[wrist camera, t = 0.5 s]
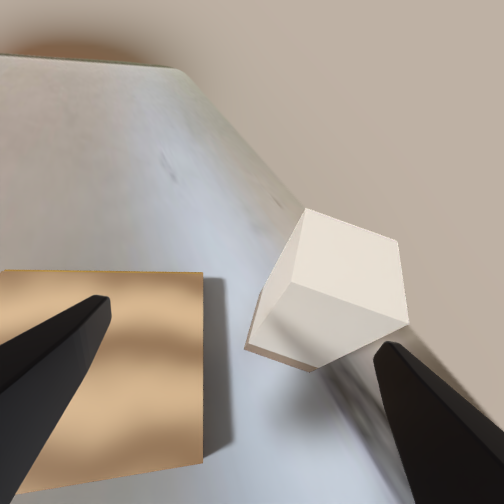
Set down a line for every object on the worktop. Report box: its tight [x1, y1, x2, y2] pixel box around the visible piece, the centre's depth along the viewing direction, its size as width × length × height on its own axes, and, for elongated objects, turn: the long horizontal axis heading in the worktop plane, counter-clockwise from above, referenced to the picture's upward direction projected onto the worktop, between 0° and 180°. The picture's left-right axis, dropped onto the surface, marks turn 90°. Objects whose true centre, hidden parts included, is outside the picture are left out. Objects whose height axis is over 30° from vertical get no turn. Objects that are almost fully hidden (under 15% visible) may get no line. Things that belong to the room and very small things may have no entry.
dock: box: [0, 270, 203, 495], centre depth 19 cm, size 14×16×2 cm
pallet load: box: [244, 208, 409, 373], centre depth 20 cm, size 6×6×13 cm
